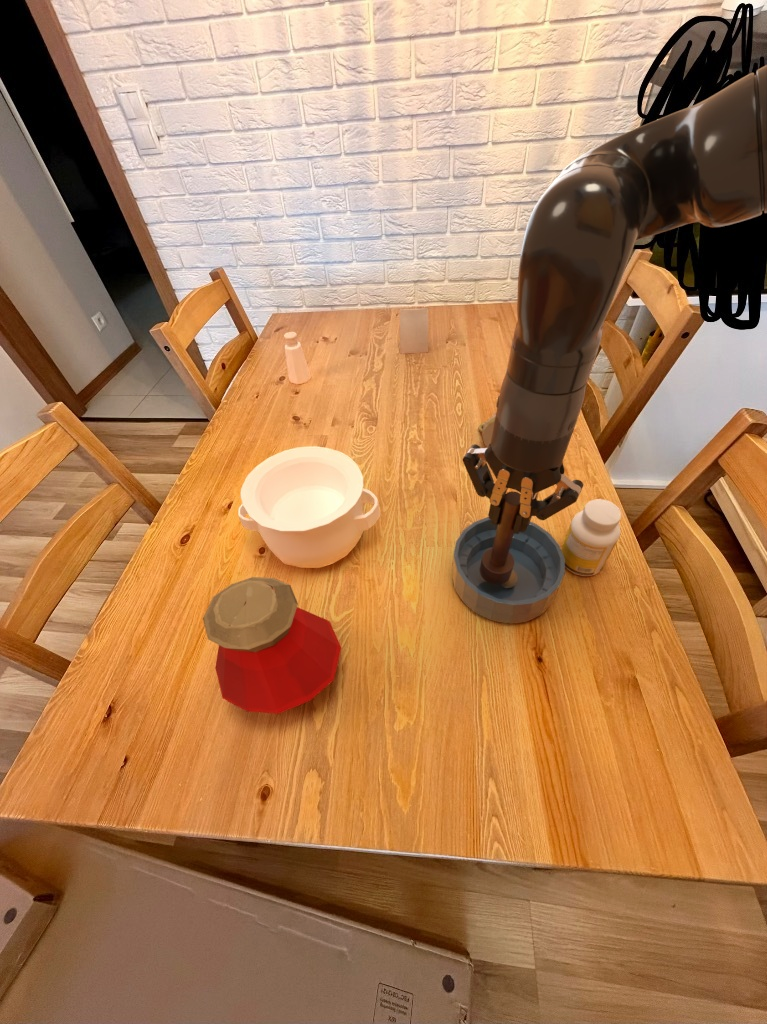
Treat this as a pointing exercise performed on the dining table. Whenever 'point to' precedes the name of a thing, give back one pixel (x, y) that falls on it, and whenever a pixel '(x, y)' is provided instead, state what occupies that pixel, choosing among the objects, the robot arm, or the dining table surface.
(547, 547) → the bowl
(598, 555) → the pill bottle
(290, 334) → the salt shaker
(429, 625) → the dining table surface
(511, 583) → the bead
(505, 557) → the masher
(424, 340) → the grey rectangular block
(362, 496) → the pot
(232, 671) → the red jar
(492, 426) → the mug
